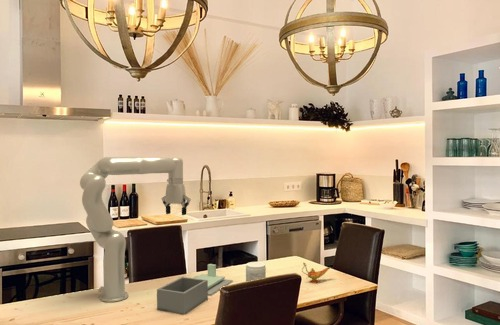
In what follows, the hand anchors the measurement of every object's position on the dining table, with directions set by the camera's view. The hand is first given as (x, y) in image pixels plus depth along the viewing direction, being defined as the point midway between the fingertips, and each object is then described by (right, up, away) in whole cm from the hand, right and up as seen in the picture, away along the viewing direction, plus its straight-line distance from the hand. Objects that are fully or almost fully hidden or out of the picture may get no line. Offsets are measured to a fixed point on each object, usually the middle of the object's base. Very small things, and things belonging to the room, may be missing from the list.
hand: (176, 214), depth 219 cm
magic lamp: (+74, -36, +2) cm, 82 cm away
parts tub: (+9, -37, -30) cm, 48 cm away
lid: (+15, -35, -3) cm, 38 cm away
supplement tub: (+41, -37, -17) cm, 58 cm away
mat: (+15, -36, -3) cm, 39 cm away
